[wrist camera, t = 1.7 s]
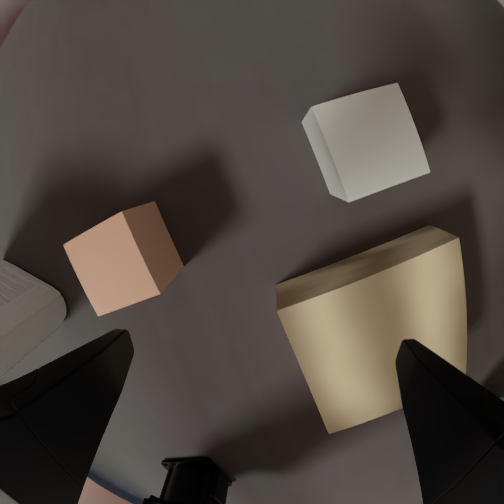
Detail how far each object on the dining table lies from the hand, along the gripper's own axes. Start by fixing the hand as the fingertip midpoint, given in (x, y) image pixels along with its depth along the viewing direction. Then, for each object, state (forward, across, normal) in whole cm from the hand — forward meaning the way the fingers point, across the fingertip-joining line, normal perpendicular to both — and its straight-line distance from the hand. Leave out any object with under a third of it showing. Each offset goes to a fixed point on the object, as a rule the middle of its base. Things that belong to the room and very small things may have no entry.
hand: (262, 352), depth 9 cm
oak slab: (+11, -8, +7) cm, 15 cm away
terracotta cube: (+11, +9, +1) cm, 15 cm away
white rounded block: (+11, +23, +5) cm, 26 cm away
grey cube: (+12, -5, -6) cm, 15 cm away
